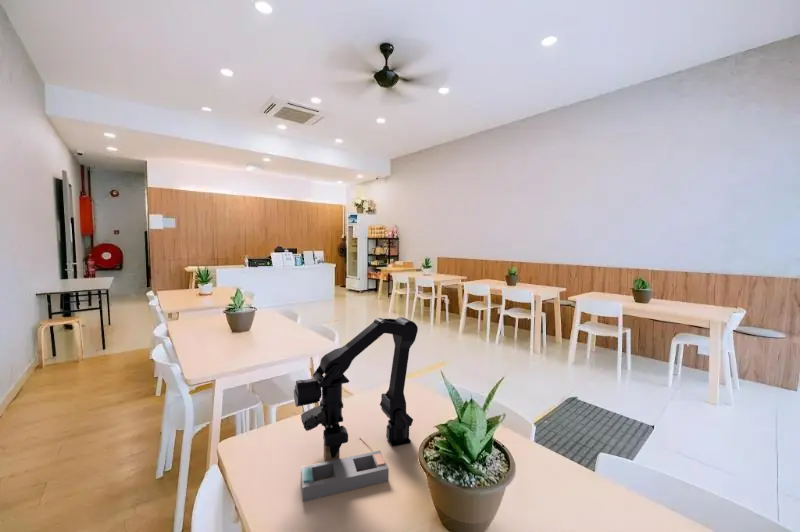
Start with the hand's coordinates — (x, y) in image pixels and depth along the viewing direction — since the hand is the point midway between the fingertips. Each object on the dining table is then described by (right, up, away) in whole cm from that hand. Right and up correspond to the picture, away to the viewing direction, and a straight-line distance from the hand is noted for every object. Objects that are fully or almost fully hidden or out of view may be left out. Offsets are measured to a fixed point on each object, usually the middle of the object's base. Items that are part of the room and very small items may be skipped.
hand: (331, 450), depth 97 cm
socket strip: (+5, -3, -9) cm, 10 cm away
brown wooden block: (0, -3, 0) cm, 3 cm away
